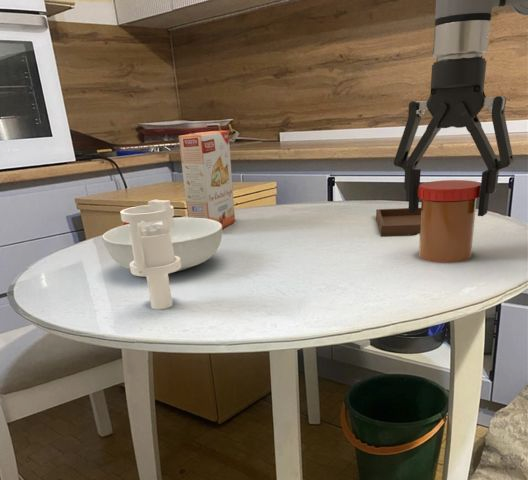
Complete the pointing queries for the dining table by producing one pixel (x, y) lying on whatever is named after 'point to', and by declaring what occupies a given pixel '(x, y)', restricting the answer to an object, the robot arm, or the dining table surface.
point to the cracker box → (208, 176)
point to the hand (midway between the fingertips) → (446, 212)
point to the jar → (446, 230)
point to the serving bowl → (182, 237)
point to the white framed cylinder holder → (153, 248)
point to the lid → (449, 190)
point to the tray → (398, 222)
